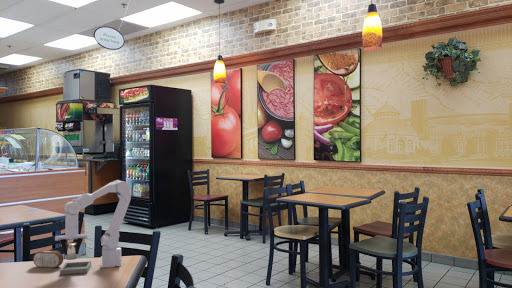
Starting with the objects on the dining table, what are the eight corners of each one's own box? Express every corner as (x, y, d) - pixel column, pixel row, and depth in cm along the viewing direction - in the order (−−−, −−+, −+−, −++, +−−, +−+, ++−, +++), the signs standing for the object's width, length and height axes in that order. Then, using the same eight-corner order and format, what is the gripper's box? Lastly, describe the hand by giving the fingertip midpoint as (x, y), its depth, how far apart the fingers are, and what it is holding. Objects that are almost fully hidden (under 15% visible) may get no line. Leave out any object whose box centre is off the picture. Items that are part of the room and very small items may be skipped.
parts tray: (91, 265, 198) (91, 261, 198) (87, 273, 186) (87, 268, 186) (65, 267, 195) (65, 262, 195) (60, 275, 183) (60, 270, 183)
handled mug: (77, 256, 190) (77, 242, 190) (75, 260, 185) (75, 245, 185) (67, 257, 189) (67, 243, 189) (65, 260, 184) (65, 246, 184)
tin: (63, 266, 197) (63, 250, 197) (59, 268, 193) (60, 252, 193) (36, 265, 198) (36, 249, 198) (31, 267, 195) (32, 251, 195)
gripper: (53, 229, 182) (53, 257, 182) (86, 227, 186) (86, 255, 186) (57, 225, 189) (57, 253, 189) (88, 224, 193) (88, 251, 193)
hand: (71, 254), depth 188 cm, fingers closed on handled mug, 4 cm apart
